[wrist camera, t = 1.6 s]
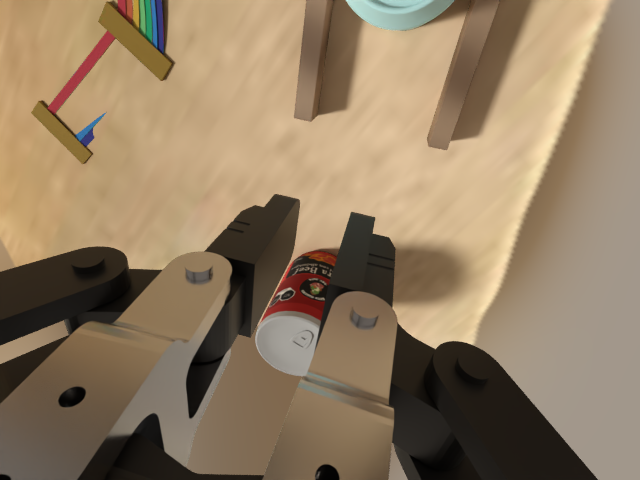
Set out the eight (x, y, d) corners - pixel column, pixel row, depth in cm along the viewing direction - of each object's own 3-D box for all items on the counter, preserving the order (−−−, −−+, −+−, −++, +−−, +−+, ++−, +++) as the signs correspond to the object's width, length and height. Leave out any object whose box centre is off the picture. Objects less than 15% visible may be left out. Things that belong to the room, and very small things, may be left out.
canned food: (362, 262, 39) (347, 335, 29) (339, 311, 43) (321, 388, 34) (297, 238, 39) (263, 303, 30) (282, 289, 43) (247, 359, 34)
